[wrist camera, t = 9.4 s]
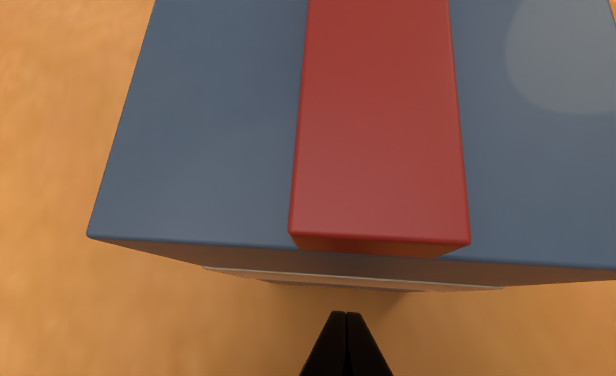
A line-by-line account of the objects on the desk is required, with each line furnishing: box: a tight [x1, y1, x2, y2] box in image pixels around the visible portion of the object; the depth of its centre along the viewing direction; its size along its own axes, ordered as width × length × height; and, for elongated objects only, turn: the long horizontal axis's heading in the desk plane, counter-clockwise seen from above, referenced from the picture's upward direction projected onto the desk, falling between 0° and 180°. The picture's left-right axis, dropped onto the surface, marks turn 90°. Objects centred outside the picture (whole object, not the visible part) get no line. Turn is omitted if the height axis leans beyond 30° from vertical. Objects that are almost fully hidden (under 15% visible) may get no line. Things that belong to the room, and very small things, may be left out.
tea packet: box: [86, 0, 616, 292], centre depth 12 cm, size 14×7×14 cm, turn 176°
